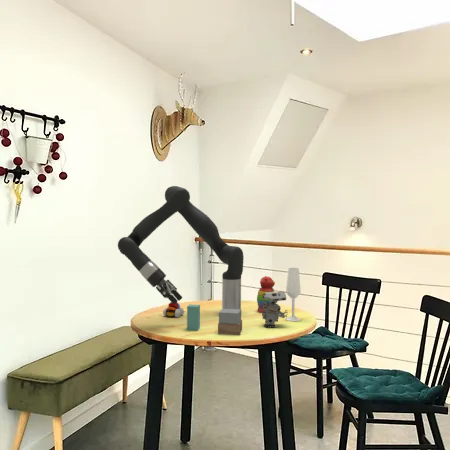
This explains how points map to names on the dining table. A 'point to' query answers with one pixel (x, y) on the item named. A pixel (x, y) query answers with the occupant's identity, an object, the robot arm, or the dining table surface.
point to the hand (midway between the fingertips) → (178, 301)
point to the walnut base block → (230, 328)
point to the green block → (193, 317)
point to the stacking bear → (264, 291)
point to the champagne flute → (293, 289)
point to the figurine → (273, 308)
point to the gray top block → (230, 316)
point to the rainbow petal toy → (173, 310)
